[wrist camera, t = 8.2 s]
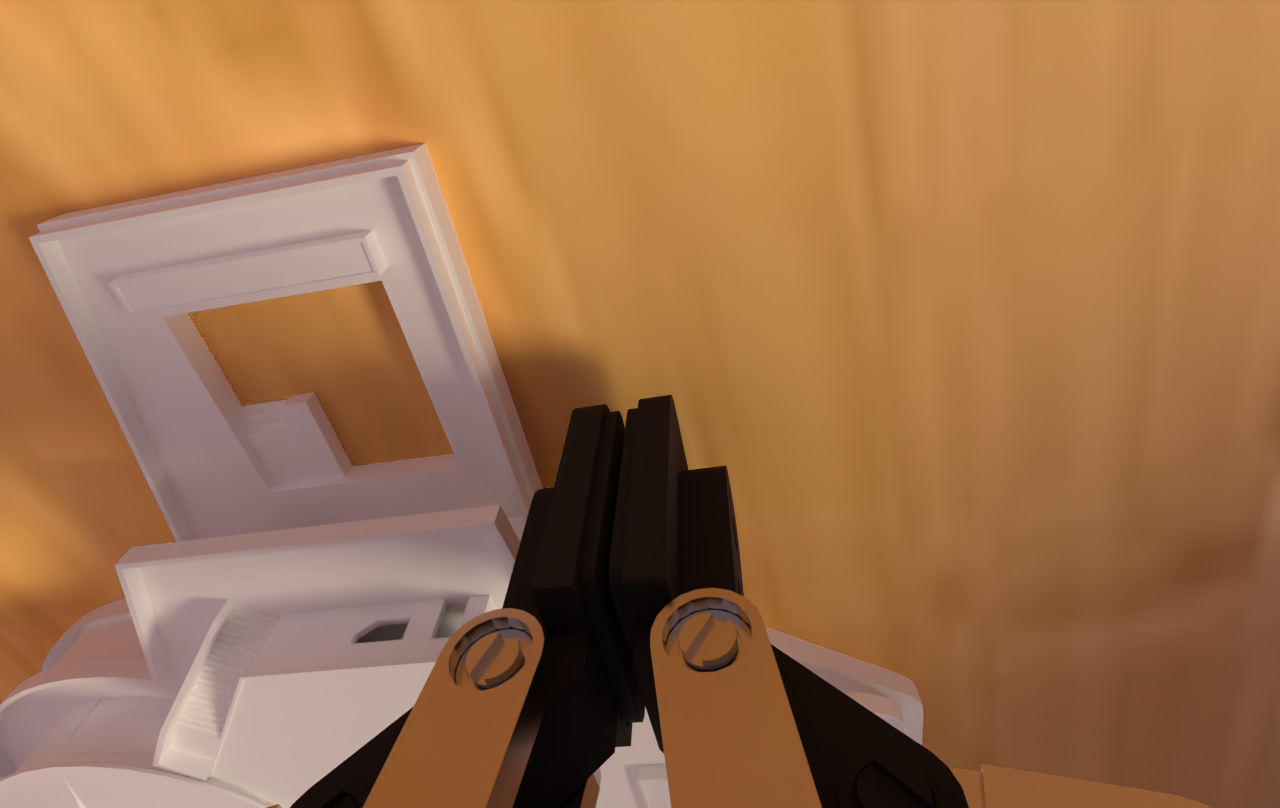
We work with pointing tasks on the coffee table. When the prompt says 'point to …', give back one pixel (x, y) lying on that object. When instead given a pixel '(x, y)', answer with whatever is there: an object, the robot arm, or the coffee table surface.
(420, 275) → the plastic molded part
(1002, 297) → the coffee table surface
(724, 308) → the coffee table surface
